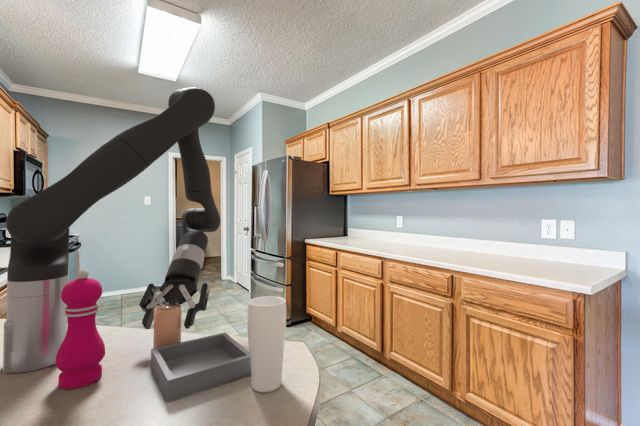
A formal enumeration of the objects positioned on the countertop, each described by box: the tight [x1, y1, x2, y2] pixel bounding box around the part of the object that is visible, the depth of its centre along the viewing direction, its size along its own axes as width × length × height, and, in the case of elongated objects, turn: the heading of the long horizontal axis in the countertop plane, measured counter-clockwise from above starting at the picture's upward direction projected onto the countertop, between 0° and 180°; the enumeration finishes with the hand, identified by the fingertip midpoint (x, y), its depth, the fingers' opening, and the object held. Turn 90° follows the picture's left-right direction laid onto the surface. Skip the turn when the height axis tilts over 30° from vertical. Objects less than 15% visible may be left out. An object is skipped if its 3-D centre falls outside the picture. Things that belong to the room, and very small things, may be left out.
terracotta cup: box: [152, 303, 182, 349], centre depth 68 cm, size 5×5×10 cm
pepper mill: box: [54, 269, 106, 390], centre depth 57 cm, size 7×7×20 cm
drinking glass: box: [246, 295, 287, 394], centre depth 55 cm, size 7×7×15 cm
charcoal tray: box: [150, 332, 251, 403], centre depth 60 cm, size 15×15×4 cm
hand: (166, 327), depth 68 cm, fingers open, 8 cm apart
